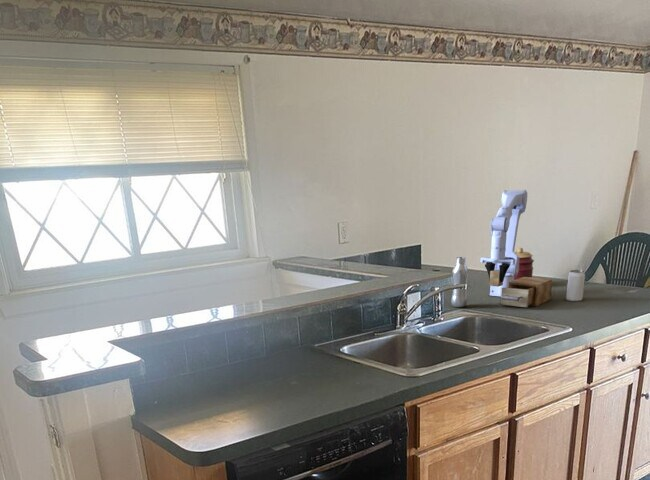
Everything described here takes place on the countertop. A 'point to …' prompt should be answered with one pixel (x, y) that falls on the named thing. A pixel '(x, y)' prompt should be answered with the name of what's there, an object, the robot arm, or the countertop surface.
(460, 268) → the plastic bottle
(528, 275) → the kitchen canister
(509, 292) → the drawer
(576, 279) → the can
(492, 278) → the block
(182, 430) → the countertop surface
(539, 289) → the cabinet
